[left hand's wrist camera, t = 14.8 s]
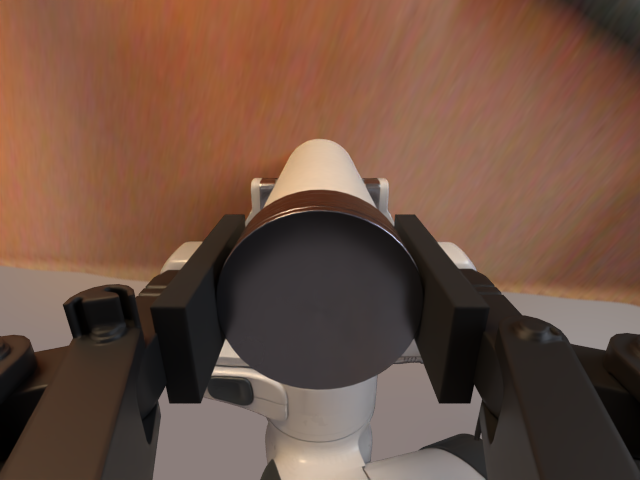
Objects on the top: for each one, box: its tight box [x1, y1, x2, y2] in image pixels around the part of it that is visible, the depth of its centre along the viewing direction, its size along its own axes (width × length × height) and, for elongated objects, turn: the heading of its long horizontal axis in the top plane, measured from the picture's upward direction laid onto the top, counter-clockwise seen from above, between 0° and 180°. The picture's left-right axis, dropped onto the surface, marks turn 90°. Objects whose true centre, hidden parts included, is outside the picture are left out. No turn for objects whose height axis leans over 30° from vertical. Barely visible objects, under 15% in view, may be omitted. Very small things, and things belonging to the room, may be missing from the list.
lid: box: [216, 189, 424, 390], centre depth 11 cm, size 6×6×2 cm
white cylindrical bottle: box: [263, 139, 376, 208], centre depth 19 cm, size 5×5×19 cm
